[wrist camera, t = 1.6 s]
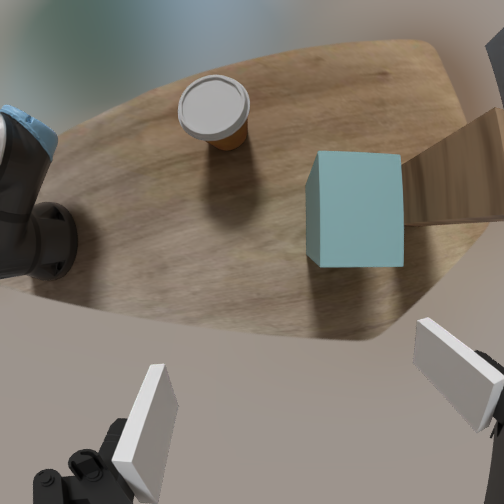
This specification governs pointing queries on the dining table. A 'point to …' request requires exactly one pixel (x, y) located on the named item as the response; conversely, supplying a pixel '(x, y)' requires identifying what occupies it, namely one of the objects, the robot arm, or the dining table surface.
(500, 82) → the power strip
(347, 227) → the teal block
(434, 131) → the dining table surface
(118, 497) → the robot arm
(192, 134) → the disposable coffee cup
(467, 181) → the walnut stand
